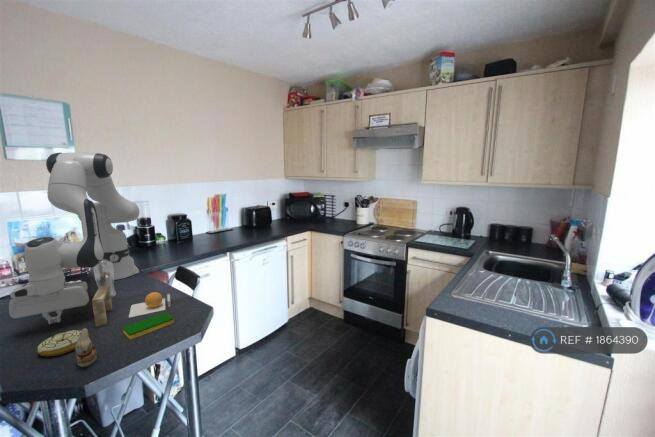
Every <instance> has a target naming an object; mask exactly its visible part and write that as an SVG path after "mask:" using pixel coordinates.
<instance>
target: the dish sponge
mask: <svg viewBox="0 0 655 437" xmlns="http://www.w3.org/2000/svg"><path fill="white" fill-rule="evenodd" d="M174 323H175V318H174V317H173V316H172V315H170V314H169V313H168V312H162V313H160V314H157V315H154V316H151V317H149V318H146V319H143V320H140V321H137V322H134V323H132V324H129V325H125V326H124V327H122V332H123V334H124V335H125V336H126V337H127V339H128V340H134V339H137V338H139V337H141V336H144V335H146V334H149V333H152V332H155V331H157V330H159V329H160V330H161V328H165V327H167V326H170V325H172V324H174Z"/></svg>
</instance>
